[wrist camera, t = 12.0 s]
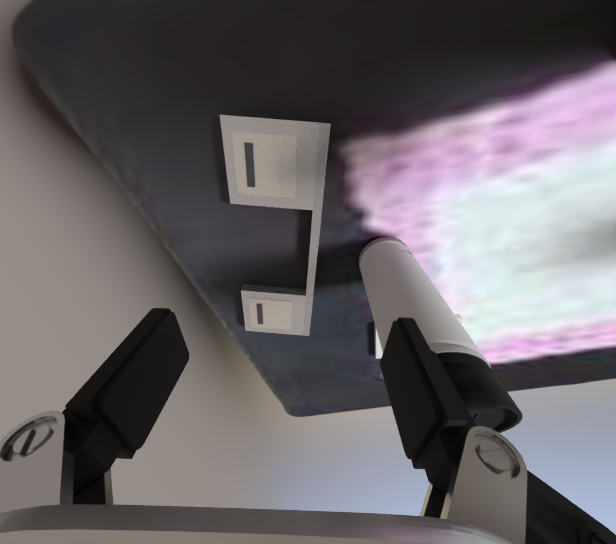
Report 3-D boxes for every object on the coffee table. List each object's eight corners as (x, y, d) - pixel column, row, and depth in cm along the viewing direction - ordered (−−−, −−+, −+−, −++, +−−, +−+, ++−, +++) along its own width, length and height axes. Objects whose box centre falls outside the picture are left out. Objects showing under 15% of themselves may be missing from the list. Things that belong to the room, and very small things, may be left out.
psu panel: (225, 115, 22) (218, 114, 20) (330, 123, 22) (330, 123, 20) (248, 323, 37) (245, 332, 36) (309, 328, 37) (309, 337, 36)
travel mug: (409, 229, 27) (554, 401, 10) (407, 275, 31) (511, 459, 14) (356, 237, 28) (410, 408, 11) (359, 281, 31) (404, 460, 15)
